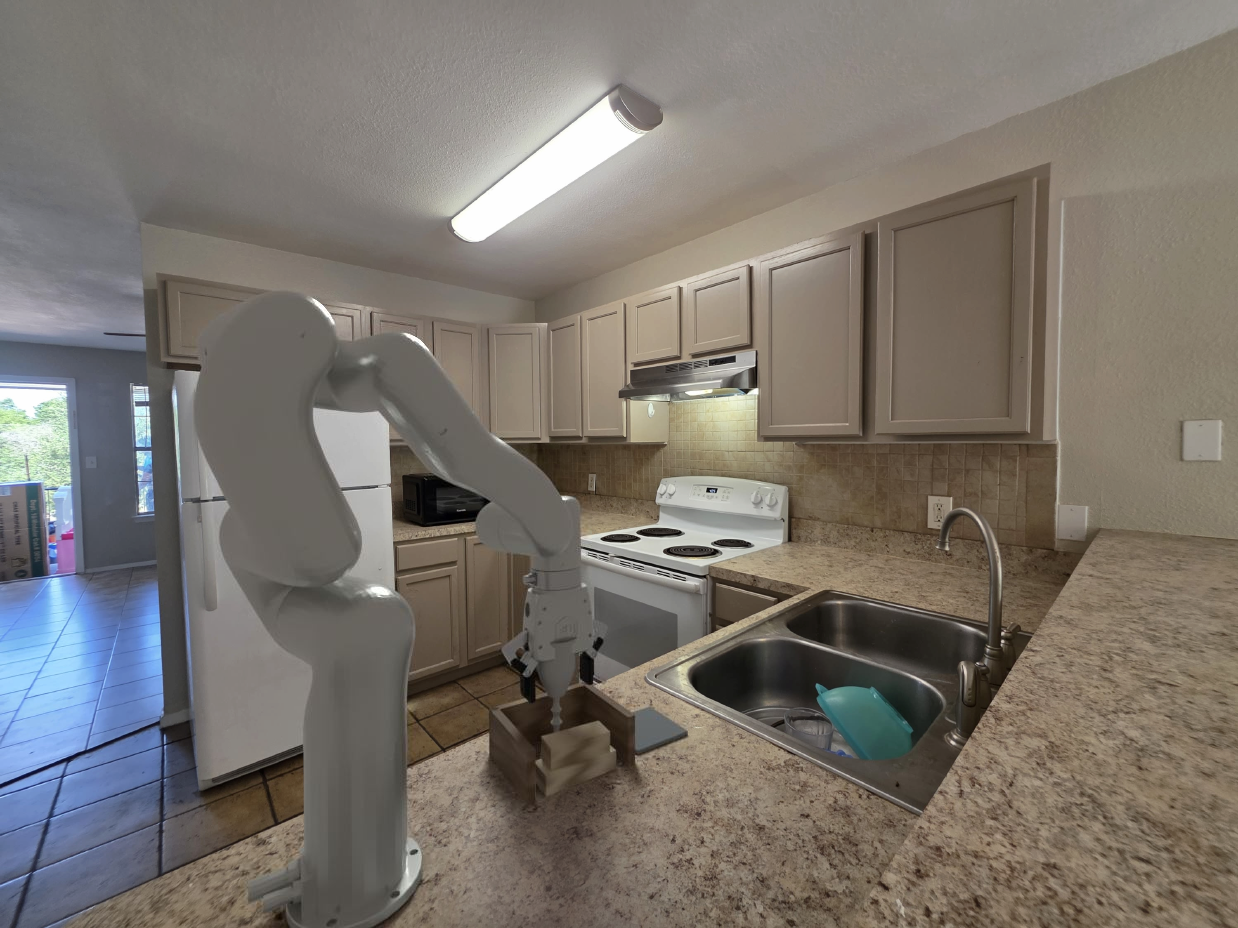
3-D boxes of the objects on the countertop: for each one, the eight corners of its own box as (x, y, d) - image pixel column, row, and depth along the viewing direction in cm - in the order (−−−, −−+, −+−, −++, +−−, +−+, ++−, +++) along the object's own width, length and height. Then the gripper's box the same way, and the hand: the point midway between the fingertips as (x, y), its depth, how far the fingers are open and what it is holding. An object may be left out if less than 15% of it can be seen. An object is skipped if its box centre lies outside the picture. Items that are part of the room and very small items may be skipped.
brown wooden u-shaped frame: (526, 806, 65) (526, 752, 65) (489, 754, 77) (489, 708, 77) (635, 762, 74) (635, 714, 74) (586, 722, 86) (586, 680, 86)
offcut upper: (550, 771, 68) (551, 748, 68) (541, 757, 71) (541, 736, 71) (609, 752, 73) (610, 731, 73) (598, 740, 76) (598, 720, 76)
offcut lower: (546, 798, 67) (546, 776, 67) (533, 783, 70) (533, 761, 70) (616, 771, 73) (616, 750, 73) (601, 757, 76) (601, 737, 76)
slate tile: (637, 754, 76) (637, 750, 76) (602, 725, 85) (602, 722, 85) (687, 734, 82) (687, 730, 82) (650, 709, 90) (650, 706, 90)
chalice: (582, 764, 74) (582, 641, 74) (535, 771, 72) (535, 645, 72) (575, 738, 81) (575, 625, 81) (532, 743, 80) (531, 628, 79)
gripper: (511, 593, 69) (514, 718, 69) (618, 574, 78) (619, 684, 79) (492, 581, 75) (494, 696, 75) (593, 565, 85) (594, 667, 85)
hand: (558, 690), depth 77 cm, fingers open, 9 cm apart
